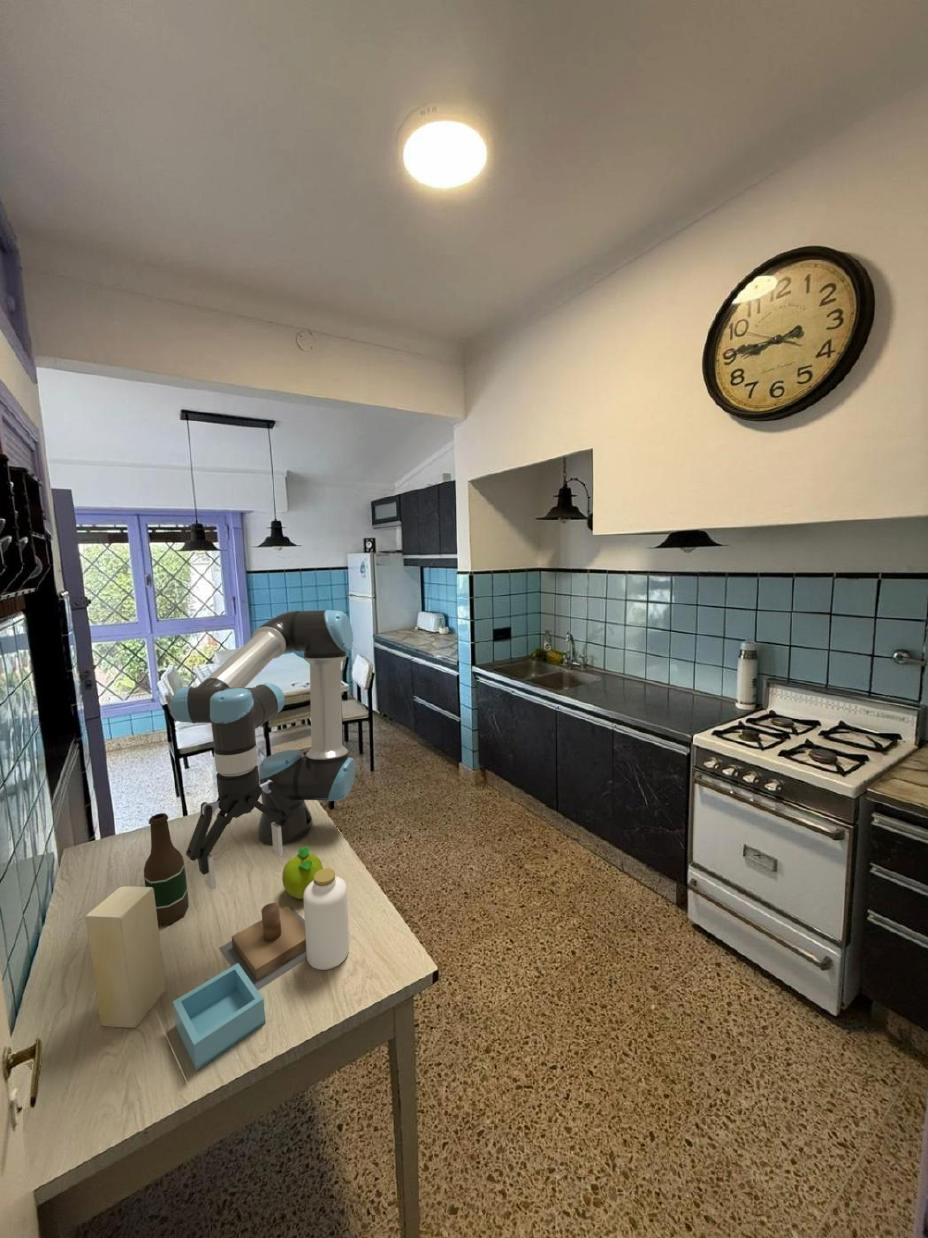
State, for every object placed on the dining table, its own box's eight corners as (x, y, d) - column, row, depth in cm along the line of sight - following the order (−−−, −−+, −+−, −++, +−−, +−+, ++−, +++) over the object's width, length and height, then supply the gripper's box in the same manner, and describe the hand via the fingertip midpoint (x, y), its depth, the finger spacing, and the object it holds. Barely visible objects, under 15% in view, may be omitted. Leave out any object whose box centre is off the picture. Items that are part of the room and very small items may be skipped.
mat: (292, 908, 114) (292, 907, 114) (328, 946, 103) (328, 944, 102) (218, 949, 102) (218, 948, 102) (250, 996, 91) (250, 994, 91)
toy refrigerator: (131, 986, 94) (117, 885, 91) (167, 989, 93) (154, 886, 90) (96, 1026, 86) (80, 916, 83) (135, 1029, 85) (120, 918, 83)
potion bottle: (357, 955, 100) (354, 875, 97) (320, 981, 94) (316, 896, 91) (335, 932, 106) (332, 855, 103) (299, 955, 100) (294, 875, 97)
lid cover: (287, 916, 111) (284, 881, 110) (314, 945, 102) (311, 907, 101) (232, 947, 102) (228, 910, 101) (256, 981, 94) (253, 941, 93)
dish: (240, 986, 93) (238, 963, 93) (265, 1024, 86) (263, 998, 85) (175, 1027, 86) (172, 1001, 85) (197, 1073, 78) (193, 1045, 77)
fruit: (323, 877, 124) (321, 840, 123) (325, 902, 115) (322, 862, 114) (284, 886, 122) (281, 848, 120) (283, 912, 113) (279, 871, 111)
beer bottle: (171, 930, 108) (159, 827, 105) (141, 925, 110) (128, 824, 106) (197, 905, 116) (186, 808, 112) (168, 901, 117) (157, 806, 114)
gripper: (287, 745, 109) (293, 835, 111) (159, 786, 90) (171, 893, 93) (305, 753, 104) (311, 848, 106) (173, 798, 85) (186, 911, 88)
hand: (246, 869), depth 100 cm, fingers open, 13 cm apart
